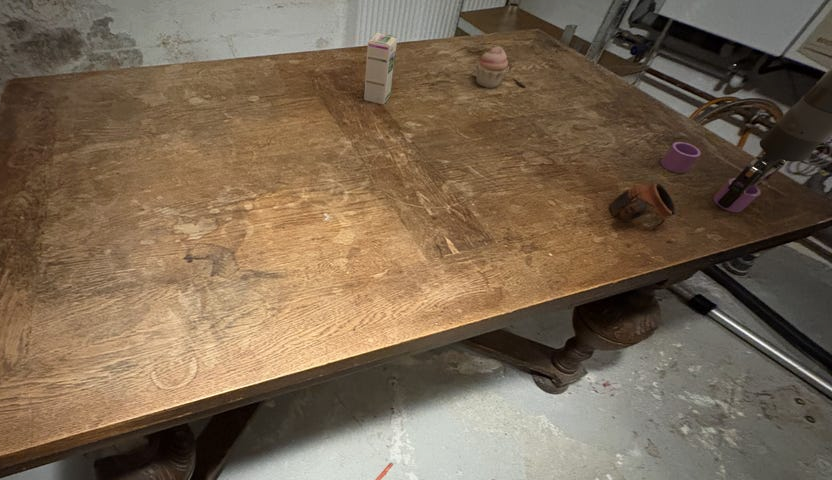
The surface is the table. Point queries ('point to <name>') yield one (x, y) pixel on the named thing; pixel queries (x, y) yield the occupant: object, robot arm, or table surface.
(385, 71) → the syrup box
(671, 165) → the ramekin
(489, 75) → the cupcake
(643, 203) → the pottery mug
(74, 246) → the table surface
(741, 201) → the ramekin
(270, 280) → the table surface
